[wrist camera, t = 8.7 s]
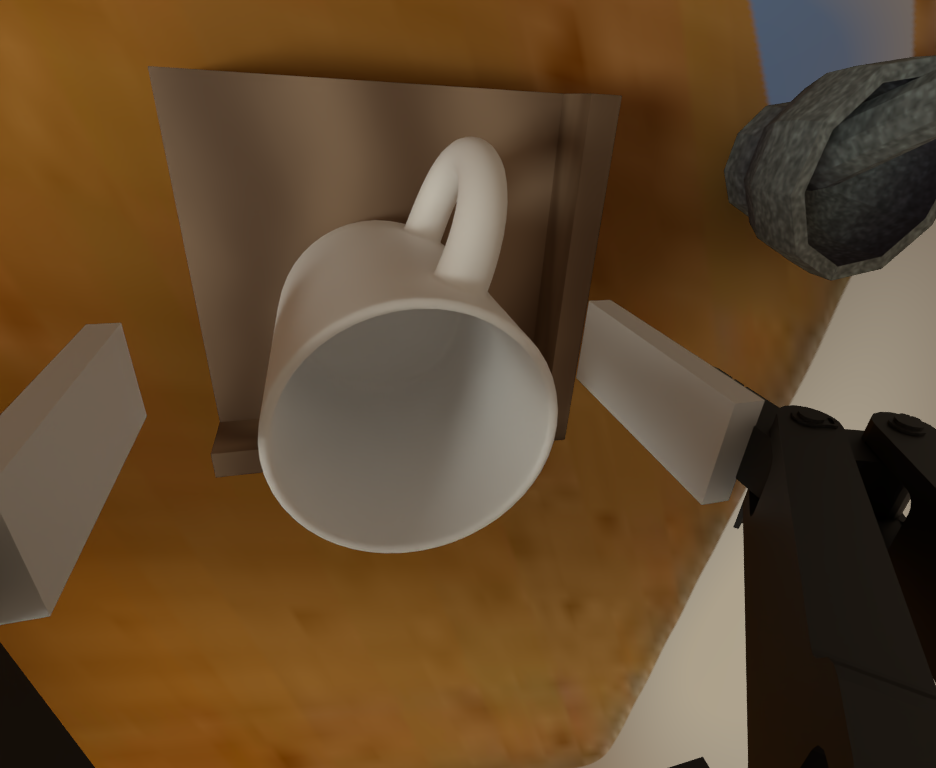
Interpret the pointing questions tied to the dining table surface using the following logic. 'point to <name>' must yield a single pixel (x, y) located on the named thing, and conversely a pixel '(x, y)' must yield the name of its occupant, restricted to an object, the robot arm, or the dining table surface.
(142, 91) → the dining table surface
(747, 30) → the dining table surface
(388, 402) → the mug
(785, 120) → the mortar and pestle
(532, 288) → the shelf
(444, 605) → the dining table surface
